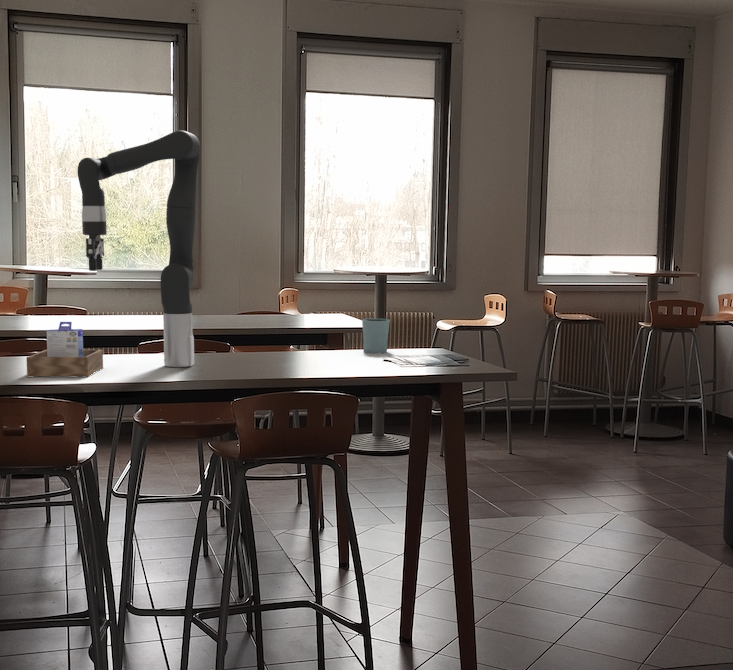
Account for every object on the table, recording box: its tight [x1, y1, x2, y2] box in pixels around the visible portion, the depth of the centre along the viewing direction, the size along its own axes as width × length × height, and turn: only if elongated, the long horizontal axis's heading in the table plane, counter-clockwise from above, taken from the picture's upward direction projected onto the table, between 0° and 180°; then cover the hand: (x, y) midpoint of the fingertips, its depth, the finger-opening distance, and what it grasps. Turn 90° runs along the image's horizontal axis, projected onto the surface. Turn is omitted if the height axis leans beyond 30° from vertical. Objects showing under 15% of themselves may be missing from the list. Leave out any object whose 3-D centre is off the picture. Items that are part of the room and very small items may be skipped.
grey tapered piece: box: [361, 317, 391, 354], centre depth 335 cm, size 10×10×12 cm
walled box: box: [26, 349, 104, 377], centre depth 282 cm, size 18×18×6 cm
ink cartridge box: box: [46, 321, 84, 357], centre depth 281 cm, size 10×6×14 cm, turn 93°
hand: (95, 270), depth 299 cm, fingers open, 8 cm apart
